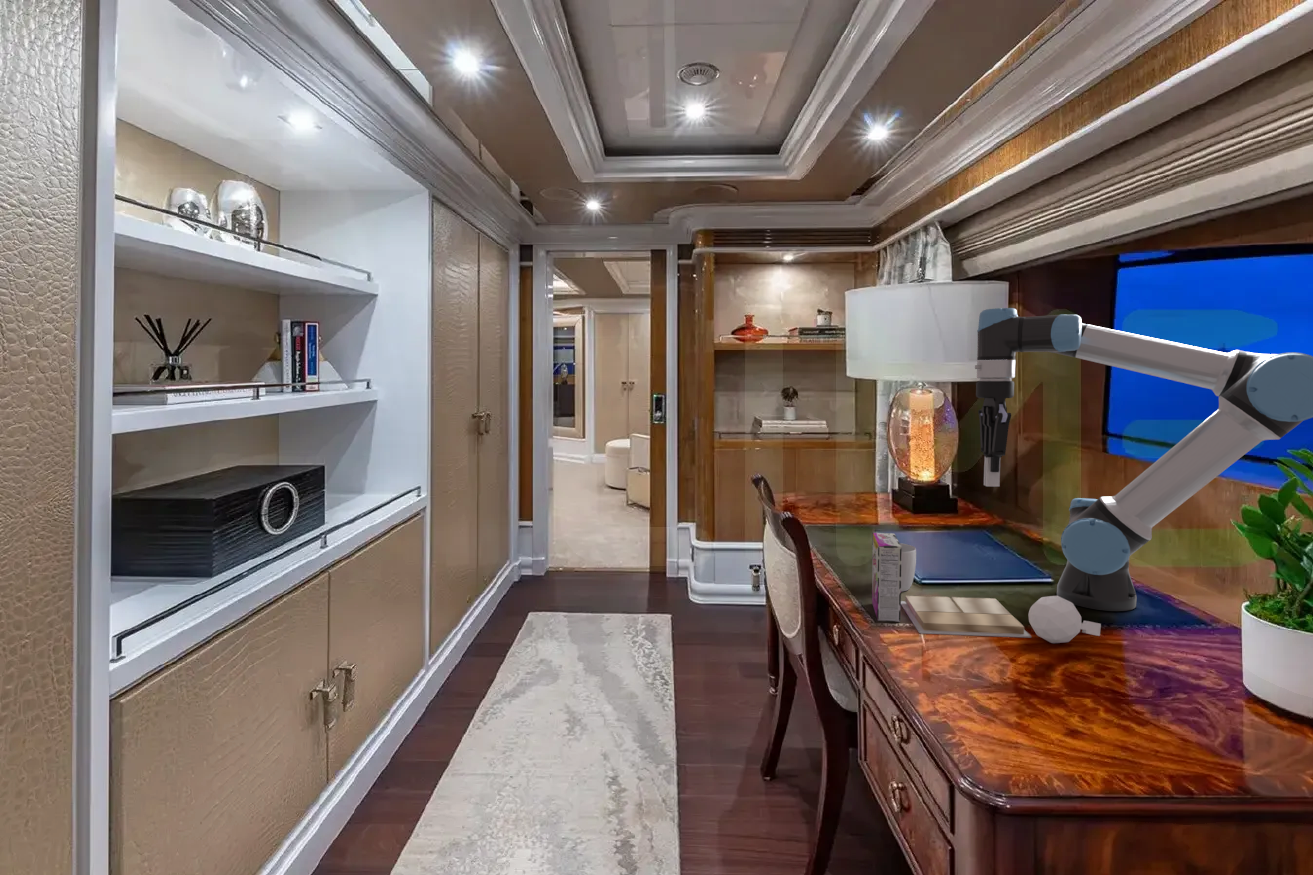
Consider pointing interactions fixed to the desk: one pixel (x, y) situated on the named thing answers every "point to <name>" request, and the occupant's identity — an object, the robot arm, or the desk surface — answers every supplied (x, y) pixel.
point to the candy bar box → (886, 577)
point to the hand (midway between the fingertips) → (991, 485)
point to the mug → (907, 566)
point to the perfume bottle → (1058, 620)
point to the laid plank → (969, 622)
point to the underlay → (955, 631)
